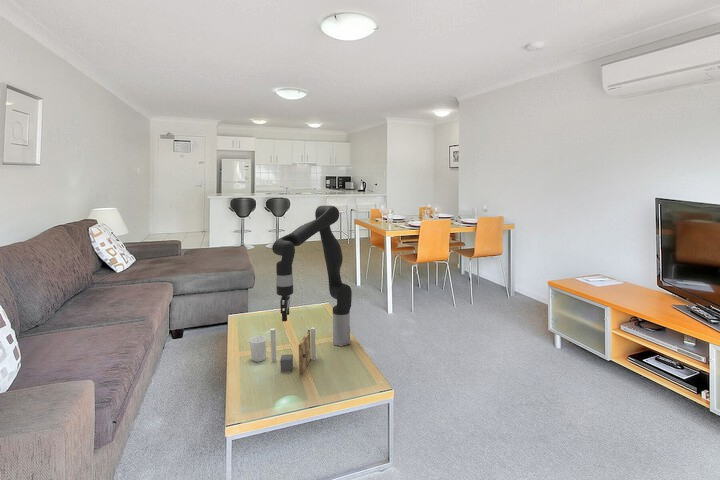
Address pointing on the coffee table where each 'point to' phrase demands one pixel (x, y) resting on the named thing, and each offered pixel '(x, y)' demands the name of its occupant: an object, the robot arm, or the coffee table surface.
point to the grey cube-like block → (286, 363)
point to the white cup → (258, 348)
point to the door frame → (273, 344)
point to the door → (304, 352)
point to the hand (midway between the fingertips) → (285, 317)
